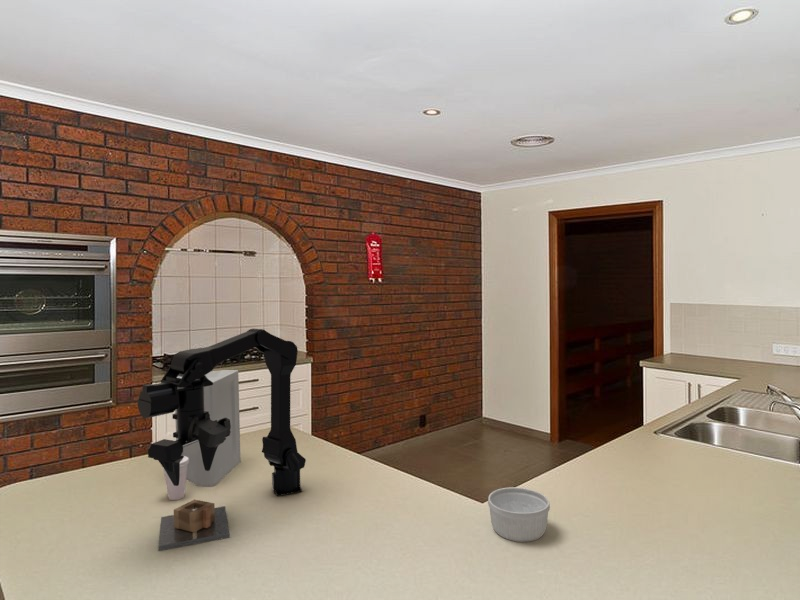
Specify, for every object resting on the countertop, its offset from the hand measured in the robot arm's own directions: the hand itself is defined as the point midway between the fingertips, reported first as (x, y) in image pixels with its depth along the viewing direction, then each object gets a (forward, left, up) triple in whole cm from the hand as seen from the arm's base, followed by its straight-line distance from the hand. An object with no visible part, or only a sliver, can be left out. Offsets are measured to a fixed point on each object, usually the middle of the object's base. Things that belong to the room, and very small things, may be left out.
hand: (192, 477), depth 116 cm
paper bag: (-3, -35, -12) cm, 37 cm away
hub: (0, 0, -12) cm, 12 cm away
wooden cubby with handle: (0, 0, -11) cm, 11 cm away
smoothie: (+4, -20, -12) cm, 24 cm away
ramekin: (-66, +29, -12) cm, 73 cm away
